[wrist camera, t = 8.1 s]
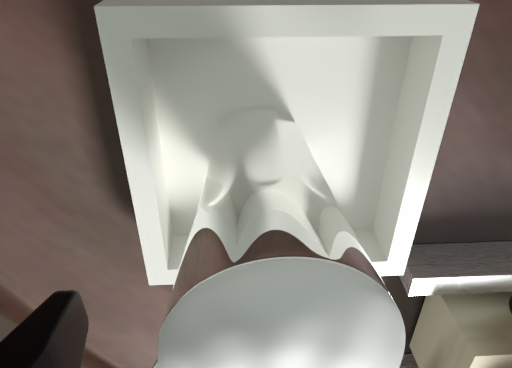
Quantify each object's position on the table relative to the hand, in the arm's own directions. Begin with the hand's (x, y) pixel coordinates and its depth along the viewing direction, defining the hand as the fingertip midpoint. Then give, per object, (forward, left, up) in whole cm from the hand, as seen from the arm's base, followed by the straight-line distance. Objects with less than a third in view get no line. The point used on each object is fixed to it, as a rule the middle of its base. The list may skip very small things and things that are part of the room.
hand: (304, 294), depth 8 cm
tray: (0, 0, -8) cm, 8 cm away
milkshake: (+1, 0, -7) cm, 7 cm away
